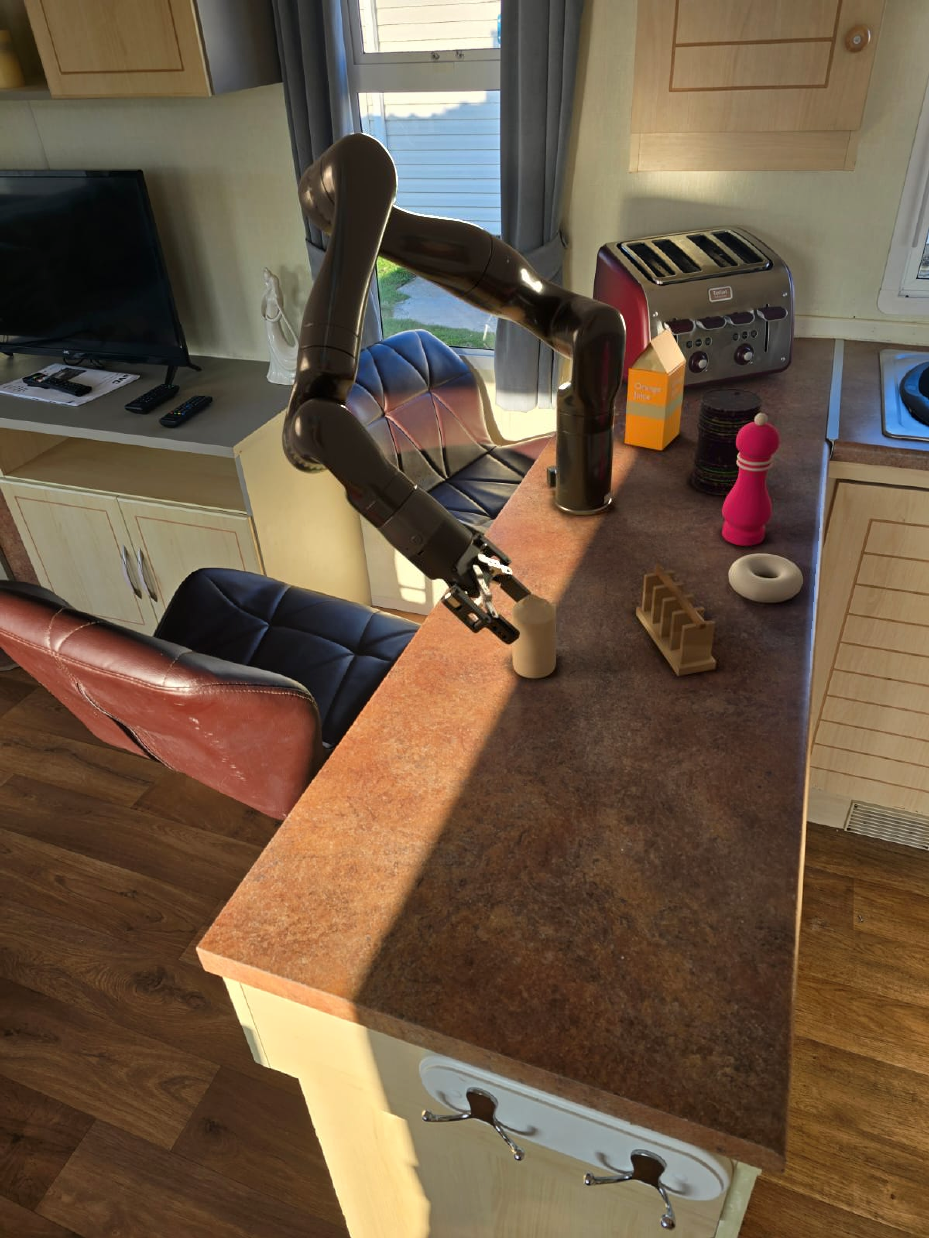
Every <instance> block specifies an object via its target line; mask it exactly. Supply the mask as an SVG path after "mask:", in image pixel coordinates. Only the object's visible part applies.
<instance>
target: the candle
mask: <svg viewBox="0 0 929 1238" xmlns="http://www.w3.org/2000/svg"><path fill="white" fill-rule="evenodd" d="M510 615H511V617H510V618H511V624H512V625H513V626H514V627H515V628H516V629H518V630H519V631H520V636H519V638H518V639H517V640H516V641H514V642H513V643H512V644H511V646H512V647H511V651H512V653H511V654H512V667H513V669H514V671H515V672H516V673H517V674H518V675H519V676H522V677H523V678H527V679H541V678H545V677H548V676H549V675H551V674H552V673H553V672H554V670H555V669H556V665H557V608H556V606H555V605H554V604H553V603H552V602H551V601H550V600H548V599H547V598H543V597H540V596H538V595H537V594H534V593H531V594H530V595H528V596H527V597H525V598H524V599H522V600H520V601H519V602H517V603H516V602H515V604H513V606H512V607H511V610H510Z"/></svg>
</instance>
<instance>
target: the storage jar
mask: <svg viewBox="0 0 929 1238" xmlns="http://www.w3.org/2000/svg"><path fill="white" fill-rule="evenodd" d="M700 397H701V398H700V406H699V412H698V419H697V420H698V422H697V432H698V434H697V445H696V449H695V451H694V458H693V463H692V474H693V475H692V477H691V483H692V486H693V487H695V488H696V489H698V490H700V491H701V492H705V493H707V494H712V495H717V496H718V495H719V496H720V495H721V496H728V494H729V493H730V491H731V490H732V488H733V487H734V485H735V483H736V481H737V479H738V474H739V466H738V465H737V460H738V457H737V456H738V453H740V452H739V450H738V449H737V446H736V439H737V435H738V433H739V431H740V430H741V428H742V427H744V426H745V425H747V424H749V423H752V422H755V417H756V415H758V414H760V413H762V407H763V406H762V405H763V398H762V396H761V395H759V394H758V393H756V392H753V391H750V390H748V389H747V390H746V389H742V388H732V387H731V388H729V387H728V388H716V389H712V390H709V391H706V392H704V393H703V394H702V395H701V396H700Z"/></svg>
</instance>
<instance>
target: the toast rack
mask: <svg viewBox="0 0 929 1238" xmlns="http://www.w3.org/2000/svg"><path fill="white" fill-rule="evenodd" d="M653 569H654V570H653V571H654V572H650V573H645V574H644V576H643V589H642V601H641V606H636V609H635V610H636V611H635V615H636V617H637V618H638V620H639V621H640V622H641V624H642V625H643V627H644V628H645V630H646V631H647V633H648V634H649V636H650V637H651V639H652V640H653V641H654V643H655V645H656V646H657V648H658V649H659V650H660V652H661V653H662V655H663V657H665V660H666V661H667V662H668V665H670V667H671V668H672V670H673V671H674V672H675V674H676V676H678V677H681V676H685V675H690V674H696V673H702V672H706V671H712V670H716V666H717V661H716V659H715V658H714V657H713V655H712V649H713V642H714V635H715V628H716V622H715V621H714V620H713V619H711V620H704V616H705V608H704V607H703V606H697V607H694V602H695V595H694V594H693V593H688V594H684V590H685V583H684V582H683V581H677V582H675V574H676V573H675V572H676V571H675V570H674V569H668V570H665V569H664V568H663V567H662V566H661V564H655V565H654V568H653Z"/></svg>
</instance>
